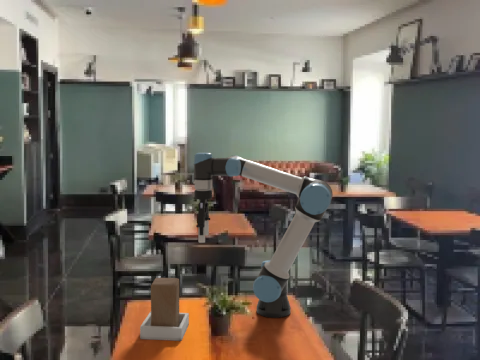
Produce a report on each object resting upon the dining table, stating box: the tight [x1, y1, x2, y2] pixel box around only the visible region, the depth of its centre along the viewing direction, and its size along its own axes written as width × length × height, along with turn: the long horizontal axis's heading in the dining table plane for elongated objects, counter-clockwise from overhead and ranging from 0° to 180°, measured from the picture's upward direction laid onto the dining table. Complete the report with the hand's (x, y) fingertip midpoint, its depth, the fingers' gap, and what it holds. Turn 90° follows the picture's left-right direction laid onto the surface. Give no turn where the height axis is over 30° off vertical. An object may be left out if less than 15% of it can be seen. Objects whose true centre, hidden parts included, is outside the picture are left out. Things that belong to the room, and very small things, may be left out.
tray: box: [139, 311, 190, 342], centre depth 217 cm, size 16×16×5 cm
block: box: [150, 277, 180, 327], centre depth 216 cm, size 10×10×20 cm
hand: (203, 238), depth 230 cm, fingers open, 13 cm apart
